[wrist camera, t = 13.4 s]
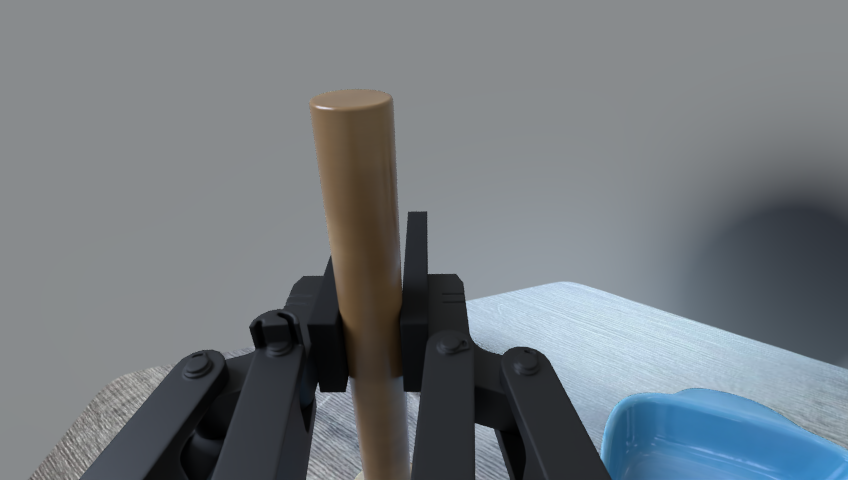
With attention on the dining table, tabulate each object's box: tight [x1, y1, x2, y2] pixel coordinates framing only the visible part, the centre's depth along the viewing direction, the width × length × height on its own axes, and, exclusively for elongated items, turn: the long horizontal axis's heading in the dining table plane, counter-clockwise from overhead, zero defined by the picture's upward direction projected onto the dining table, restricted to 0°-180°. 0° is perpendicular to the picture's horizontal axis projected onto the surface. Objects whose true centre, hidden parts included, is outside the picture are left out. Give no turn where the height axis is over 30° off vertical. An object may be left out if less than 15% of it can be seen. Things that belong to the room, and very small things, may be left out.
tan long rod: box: [309, 89, 412, 480], centre depth 15 cm, size 4×4×24 cm
